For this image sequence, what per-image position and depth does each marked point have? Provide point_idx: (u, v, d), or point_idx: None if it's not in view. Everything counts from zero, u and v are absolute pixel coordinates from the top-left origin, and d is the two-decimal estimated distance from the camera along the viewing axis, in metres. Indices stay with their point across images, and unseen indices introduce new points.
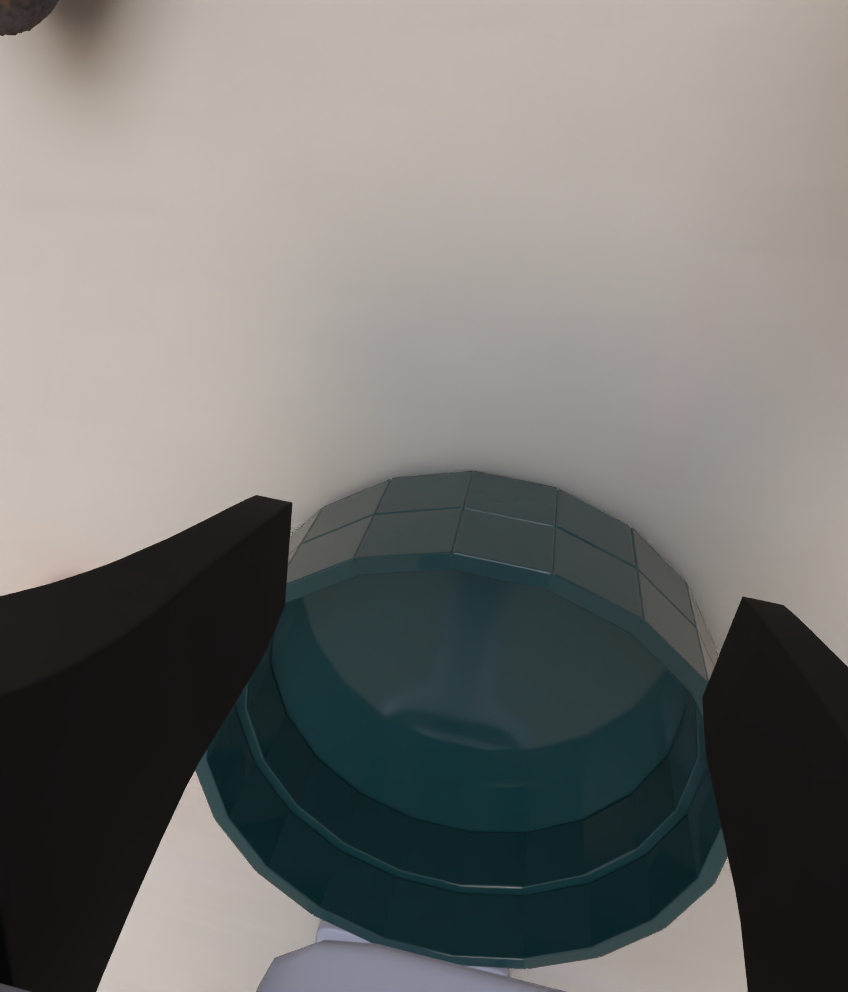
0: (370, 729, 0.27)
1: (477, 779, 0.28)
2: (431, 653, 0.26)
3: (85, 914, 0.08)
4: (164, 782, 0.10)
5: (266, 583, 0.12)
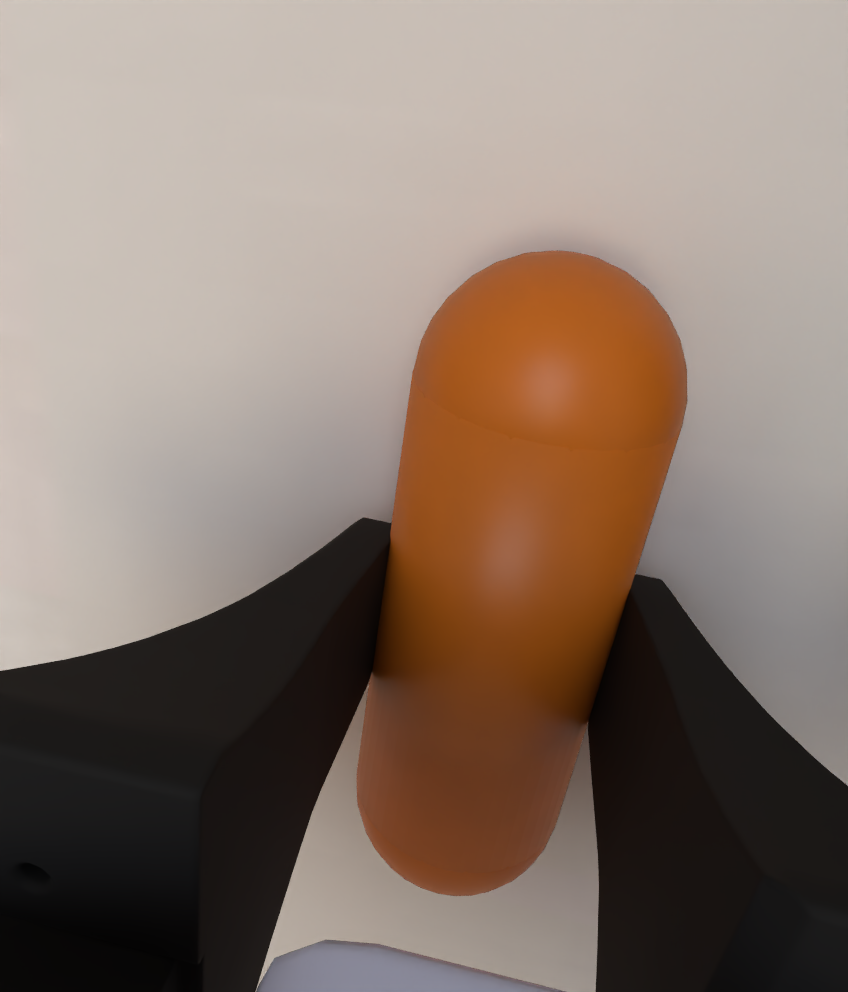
0: None
1: None
2: None
3: (246, 955, 0.08)
4: (300, 815, 0.10)
5: (378, 607, 0.12)
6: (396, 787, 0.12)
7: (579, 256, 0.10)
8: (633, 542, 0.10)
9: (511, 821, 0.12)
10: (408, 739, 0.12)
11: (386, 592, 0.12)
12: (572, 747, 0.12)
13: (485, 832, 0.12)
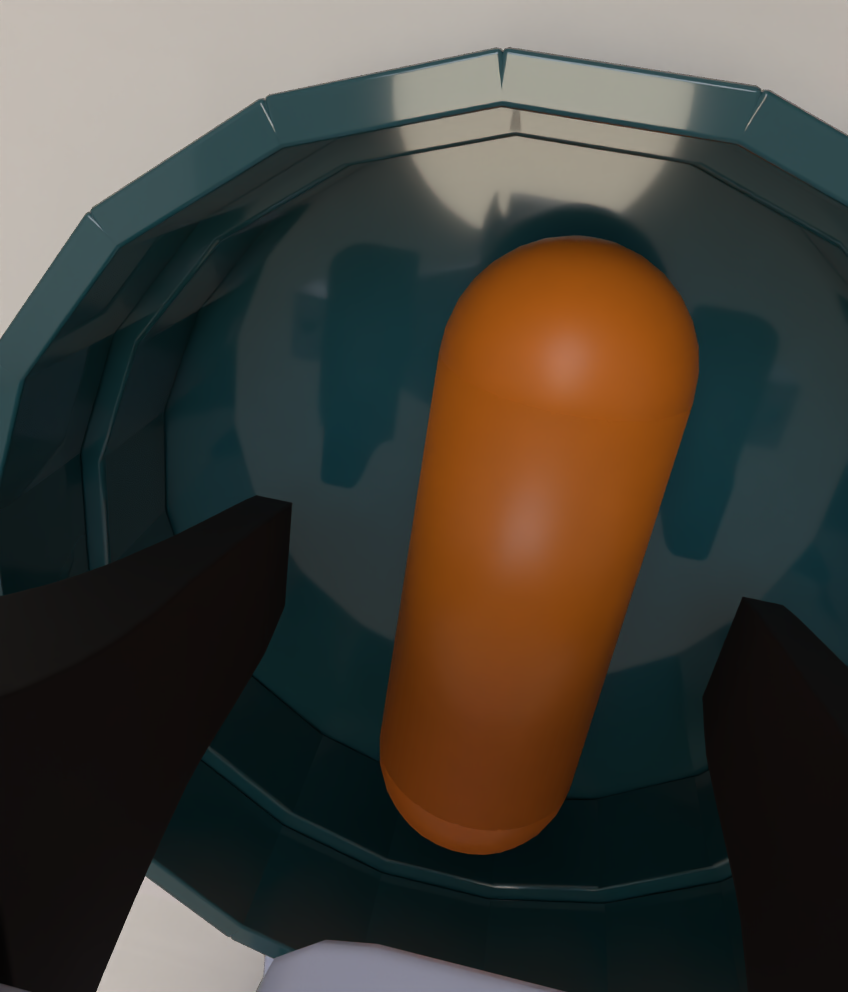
0: (337, 623, 0.16)
1: None
2: None
3: (85, 914, 0.08)
4: (164, 782, 0.10)
5: (266, 583, 0.12)
6: (430, 756, 0.13)
7: (598, 240, 0.10)
8: (655, 505, 0.11)
9: (542, 776, 0.13)
10: (444, 708, 0.12)
11: (416, 569, 0.12)
12: (594, 702, 0.13)
13: (519, 789, 0.13)
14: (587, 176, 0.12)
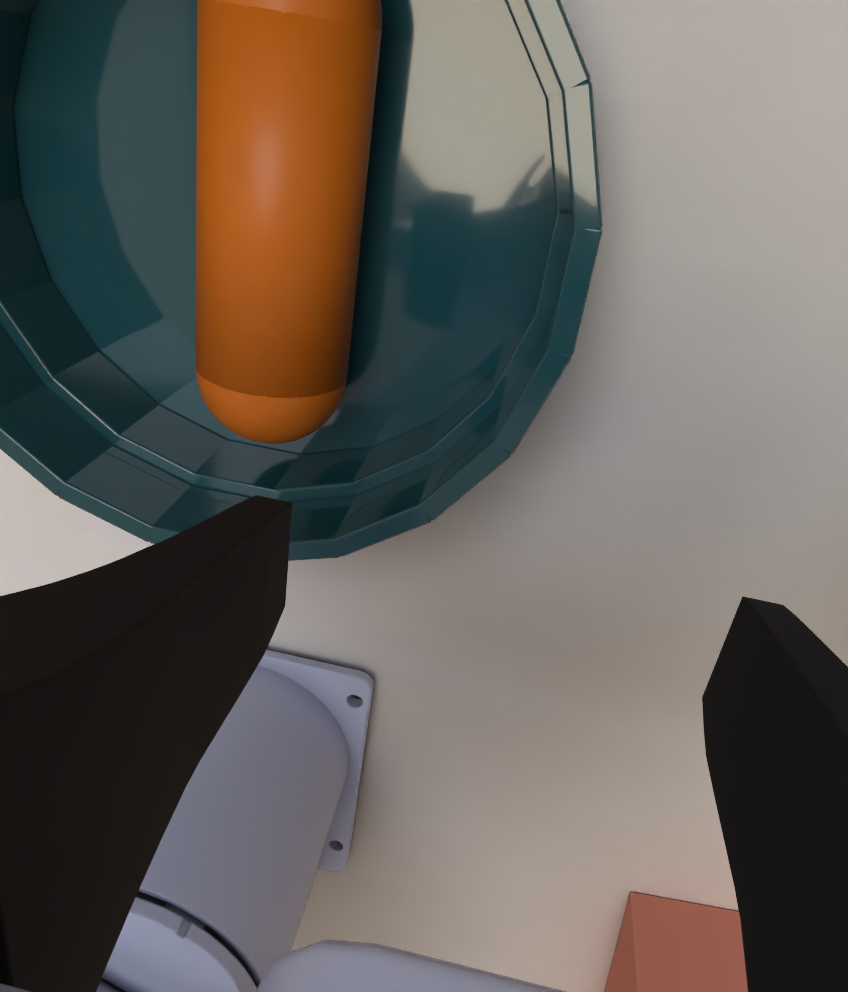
0: (159, 295, 0.21)
1: None
2: None
3: (85, 914, 0.08)
4: (164, 782, 0.10)
5: (266, 583, 0.12)
6: (236, 339, 0.17)
7: None
8: (366, 109, 0.16)
9: (321, 347, 0.18)
10: (241, 291, 0.17)
11: (204, 185, 0.16)
12: (350, 291, 0.18)
13: (305, 356, 0.18)
14: None
